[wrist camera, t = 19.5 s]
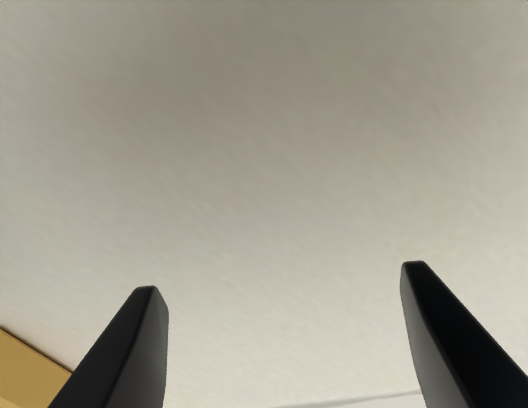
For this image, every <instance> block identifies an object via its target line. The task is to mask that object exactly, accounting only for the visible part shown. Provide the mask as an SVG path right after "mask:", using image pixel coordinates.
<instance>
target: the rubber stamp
mask: <svg viewBox="0 0 528 408" xmlns="http://www.w3.org/2000/svg"><path fill="white" fill-rule="evenodd" d="M71 374H72V373H71V372H69V371H67V370H66V369H64V368H63V367H61V366H59V365H58V364H56V363H55V362H53V361H51V360H50V359H48V358H47V357H45V356H43V355H42V354H40V353H39V352H37V351H35V350H34V349H32V348H30V347H29V346H27V345H26V344H24V343H22V342H21V341H19V340H18V339H16V338H14V337H13V336H11V335H10V334H8V333H6V332H5V331H3V330H2V329H0V408H47V407H48V406H49V404H50V403H51V402H52V400H53V399H54V397H55V396H56V395H57V393H58V392H59V391H60V389H61V388H62V387H63V385H64V384H65V383H66V381H67V380H68V379H69V377H70V376H71Z"/></svg>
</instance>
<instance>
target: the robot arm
mask: <svg viewBox="0 0 528 408" xmlns="http://www.w3.org/2000/svg"><path fill="white" fill-rule="evenodd" d="M400 295H401V301H402V306H403V311H404V317H405V322H406V327H407V333H408V338H409V343H410V349H411V354H412V359H413V363H414V367H415V371H416V375H417V378H418V381H419V384H420V388H421V391H422V394H423V397H424V400H425V403H426V407H427V408H528V376H527V375H526V374H525V373H524V372H523V371H522V370H521V368H520V367H519V366H518V365H517V364H516V363H515V362H514V361H513V360H512V358H511V357H510V356H509V355H508V354H507V353H506V352H505V351H504V350H503V348H502V347H501V346H500V345H499V344H498V343H497V342H496V341H495V339H494V338H493V337H492V336H491V335H490V334H489V333H488V332H487V331H486V329H485V328H484V327H483V326H482V325H481V324H480V323H479V322H478V321H477V319H476V318H475V317H474V316H473V315H472V314H471V313H470V312H469V311H468V309H467V308H466V307H465V306H464V305H463V304H462V303H461V302H460V300H459V299H458V298H457V297H456V296H455V295H454V294H453V293H452V292H451V290H450V289H449V288H448V287H447V286H446V285H445V284H444V283H443V282H442V280H441V279H440V278H439V277H438V276H437V275H436V274H435V273H434V271H433V270H432V269H431V268H430V267H429V266H428V265H427V264H426V263H425V262H424V261H420V260H419V261H408V262H404V263H403V264H402V267H401V278H400ZM168 324H169V312H168V307H167V305H166V303H165V301H164V299H163V297H162V296H161V294H160V292H159V290H158V288H157V287H156V286H141V287H137V288H136V289H135V290H134V291H133V292H132V293H131V295H130V296H129V297H128V299H127V300H126V301H125V303H124V304H123V305H122V307H121V308H120V310H119V311H118V312H117V314H116V315H115V316H114V318H113V319H112V320H111V322H110V323H109V324H108V326H107V327H106V328H105V330H104V331H103V333H102V334H101V335H100V337H99V338H98V339H97V341H96V342H95V343H94V345H93V346H92V347H91V349H90V350H89V351H88V353H87V354H86V356H85V357H84V358H83V360H82V361H81V362H80V364H79V365H78V366H77V368H76V369H75V370H74V372H73V373H72V374H71V376H70V377H69V379H68V380H67V381H66V383H65V384H64V385H63V387H62V388H61V389H60V391H59V392H58V393H57V395H56V396H55V397H54V399H53V400H52V402H51V403H50V404H49V406H48V407H47V408H162V407H163V400H164V394H165V386H166V372H167V348H168Z"/></svg>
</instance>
